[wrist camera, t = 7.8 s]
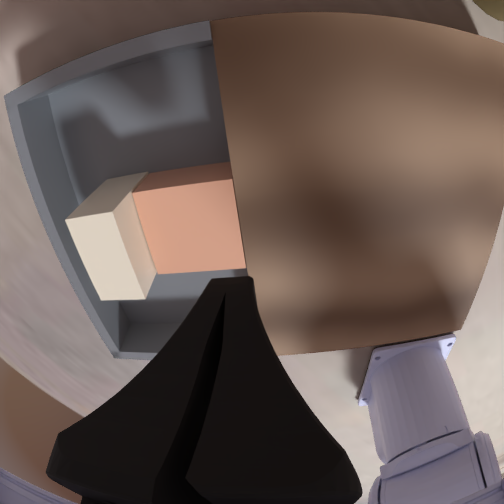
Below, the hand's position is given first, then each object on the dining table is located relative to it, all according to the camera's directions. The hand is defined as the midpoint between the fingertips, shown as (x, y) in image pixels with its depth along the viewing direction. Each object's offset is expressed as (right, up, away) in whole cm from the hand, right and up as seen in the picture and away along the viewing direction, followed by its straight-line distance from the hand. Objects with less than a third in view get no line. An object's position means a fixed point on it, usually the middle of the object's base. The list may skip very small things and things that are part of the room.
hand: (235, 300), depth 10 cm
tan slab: (+7, +5, +5) cm, 10 cm away
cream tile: (-5, +3, +4) cm, 7 cm away
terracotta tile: (-2, +4, +6) cm, 7 cm away
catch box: (-5, +4, +7) cm, 9 cm away
